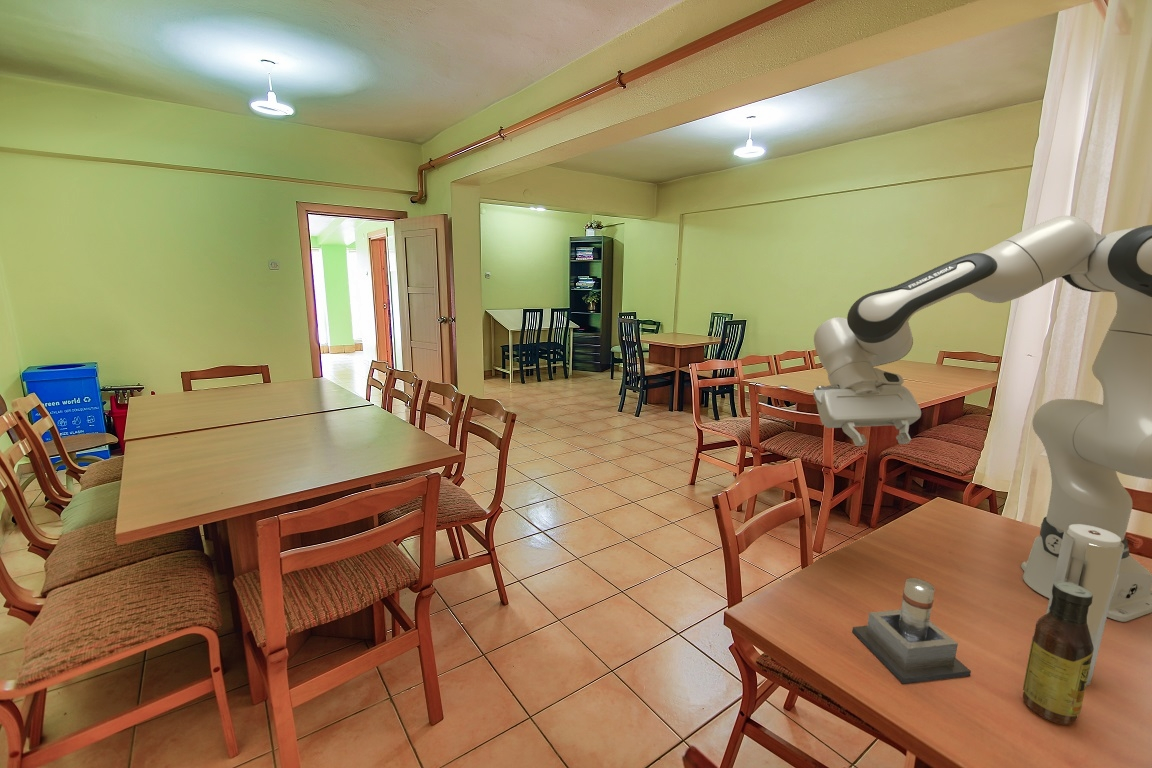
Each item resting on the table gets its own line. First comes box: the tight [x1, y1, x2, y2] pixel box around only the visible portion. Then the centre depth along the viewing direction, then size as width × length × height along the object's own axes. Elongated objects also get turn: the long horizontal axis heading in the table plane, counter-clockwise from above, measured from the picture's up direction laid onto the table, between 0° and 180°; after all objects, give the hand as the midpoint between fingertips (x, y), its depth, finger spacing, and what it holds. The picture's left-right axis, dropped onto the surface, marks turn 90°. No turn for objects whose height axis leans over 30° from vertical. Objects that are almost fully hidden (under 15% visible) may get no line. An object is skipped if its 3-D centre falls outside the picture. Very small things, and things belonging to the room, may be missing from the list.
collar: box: [852, 609, 972, 685], centre depth 85 cm, size 12×12×5 cm
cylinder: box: [898, 577, 935, 643], centre depth 84 cm, size 4×4×12 cm
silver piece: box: [1045, 524, 1124, 687], centre depth 78 cm, size 6×6×25 cm
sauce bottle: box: [1022, 581, 1094, 726], centre depth 72 cm, size 7×6×20 cm
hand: (883, 443), depth 97 cm, fingers open, 8 cm apart
